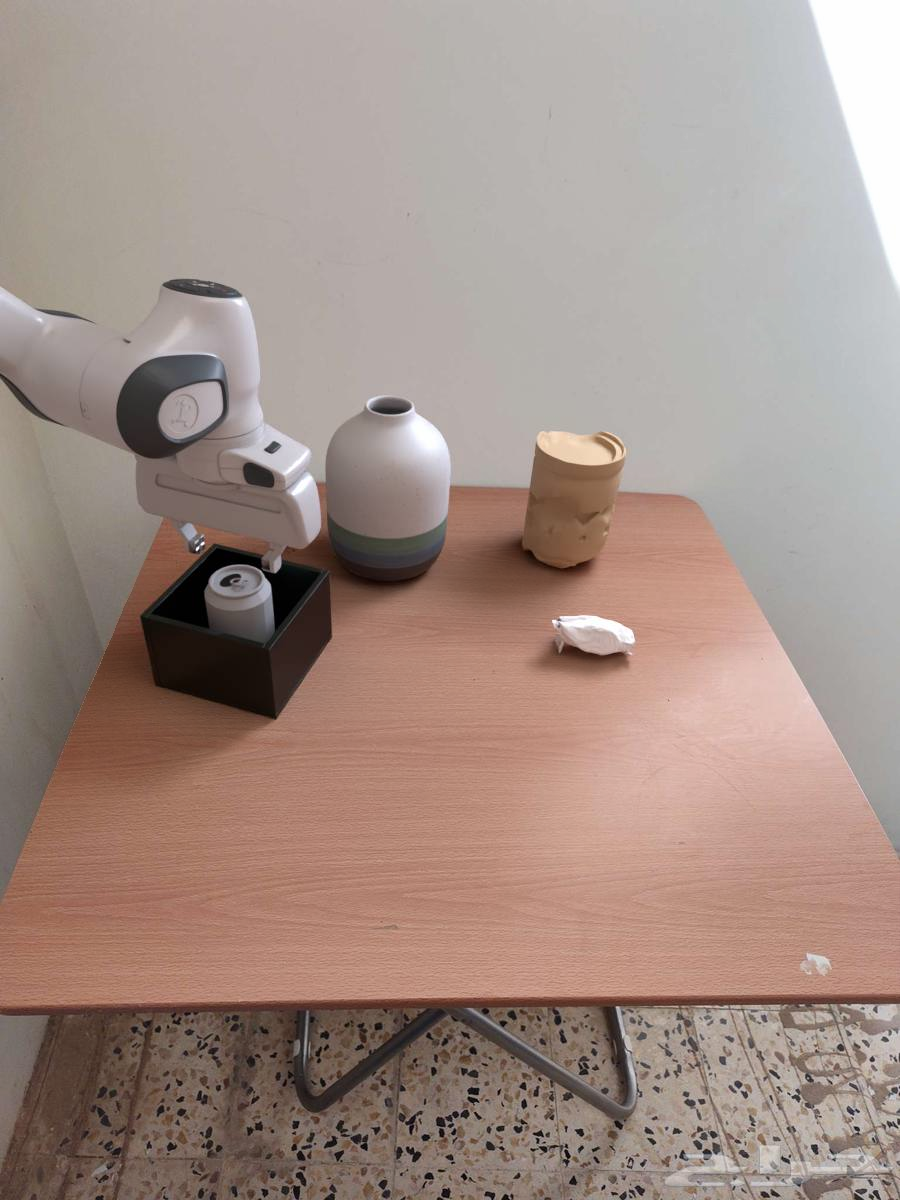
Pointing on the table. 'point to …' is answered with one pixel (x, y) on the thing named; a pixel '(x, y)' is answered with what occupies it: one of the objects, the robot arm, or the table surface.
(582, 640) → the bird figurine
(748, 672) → the table surface
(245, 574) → the can
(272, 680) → the bin
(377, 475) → the vase
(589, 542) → the container
